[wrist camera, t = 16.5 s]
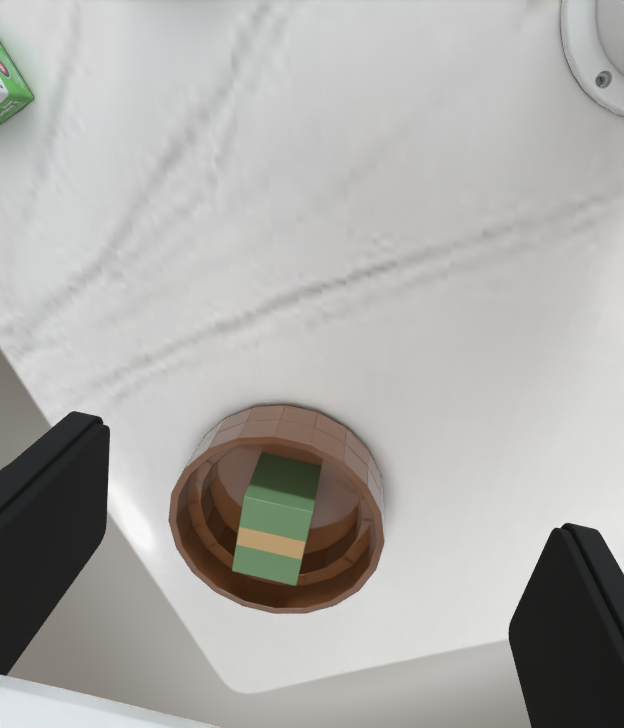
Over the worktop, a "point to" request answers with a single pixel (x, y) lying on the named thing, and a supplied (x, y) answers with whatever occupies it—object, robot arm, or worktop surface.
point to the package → (276, 518)
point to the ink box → (11, 88)
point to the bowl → (329, 520)
